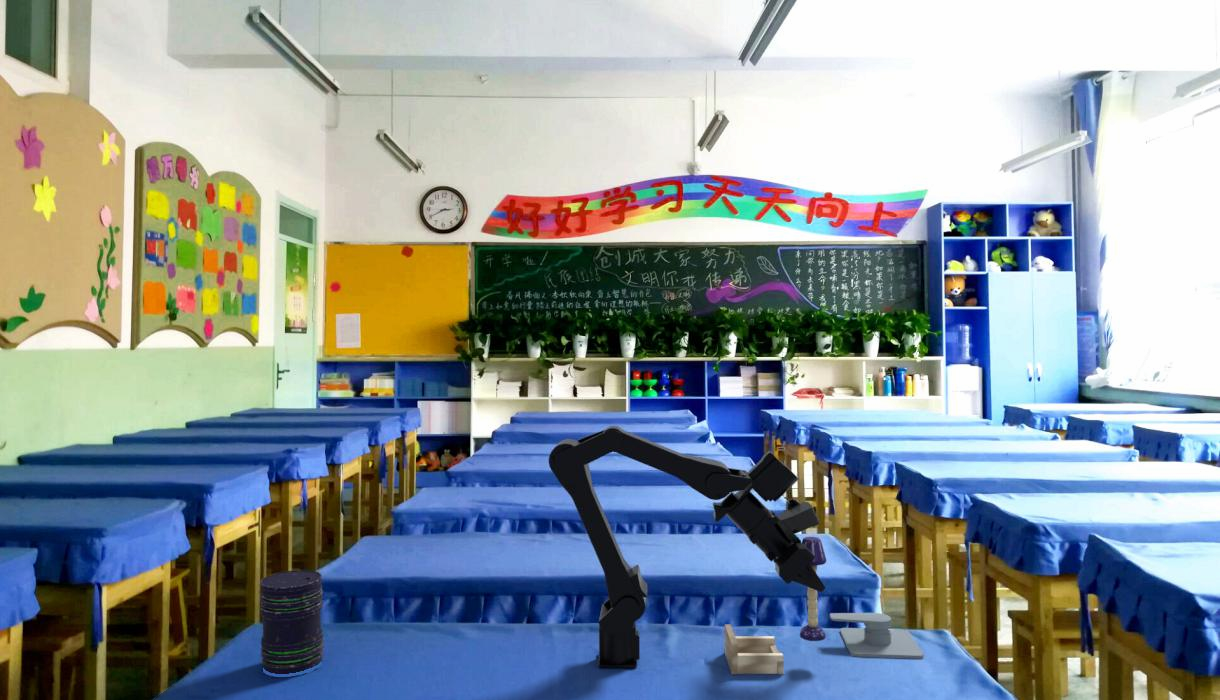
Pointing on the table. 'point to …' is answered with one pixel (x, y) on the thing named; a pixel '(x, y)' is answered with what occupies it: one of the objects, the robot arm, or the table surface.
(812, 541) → the toy lamp
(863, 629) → the shower valve
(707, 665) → the table surface
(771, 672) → the birch bracket
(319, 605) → the storage jar
